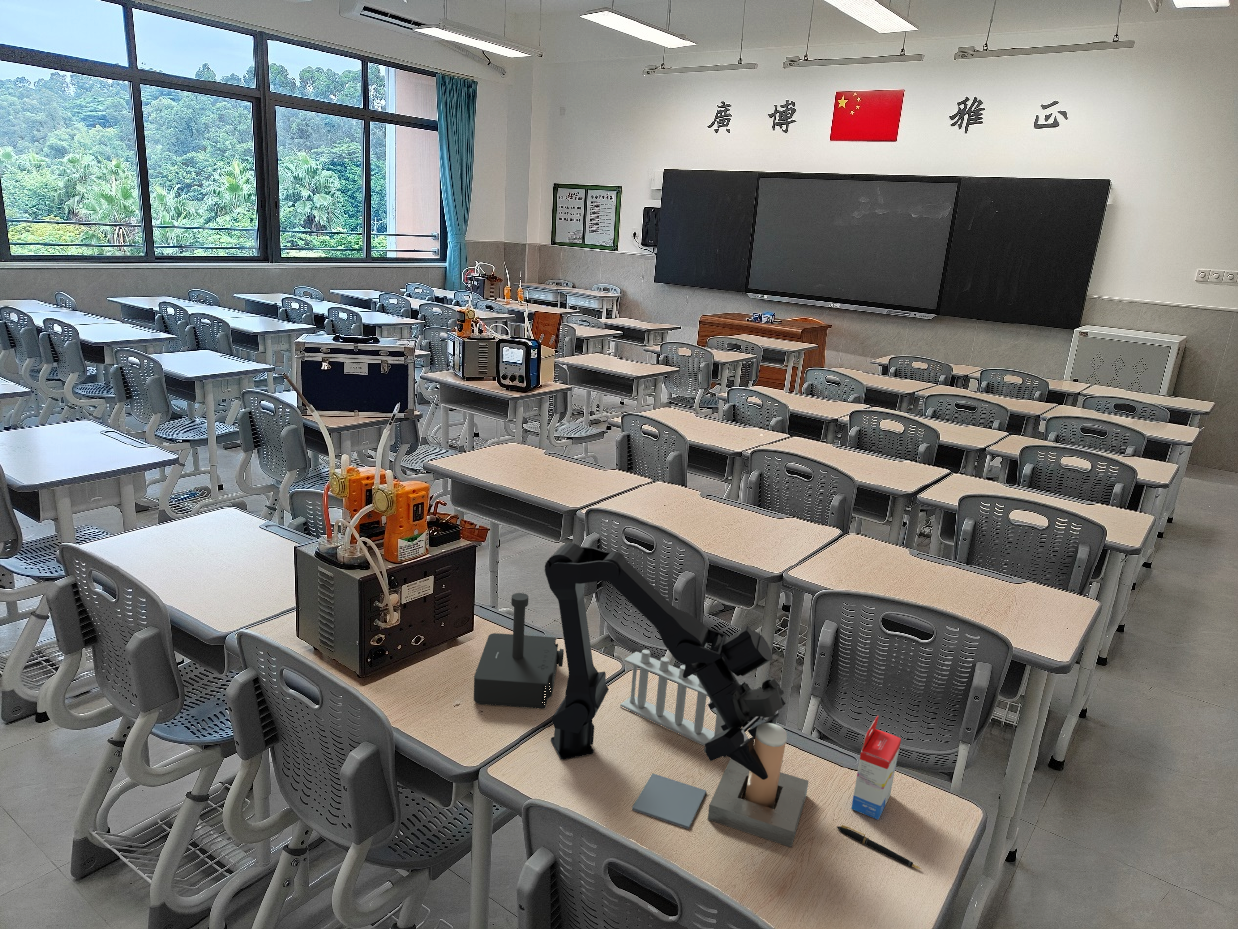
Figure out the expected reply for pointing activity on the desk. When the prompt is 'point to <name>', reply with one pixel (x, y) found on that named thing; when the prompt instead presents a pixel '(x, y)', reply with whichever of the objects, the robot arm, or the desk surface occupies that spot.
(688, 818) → the slate mat
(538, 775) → the desk surface
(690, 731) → the test tube rack
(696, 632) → the robot arm
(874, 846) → the fountain pen
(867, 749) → the ink box
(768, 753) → the tan peg
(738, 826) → the bore housing
